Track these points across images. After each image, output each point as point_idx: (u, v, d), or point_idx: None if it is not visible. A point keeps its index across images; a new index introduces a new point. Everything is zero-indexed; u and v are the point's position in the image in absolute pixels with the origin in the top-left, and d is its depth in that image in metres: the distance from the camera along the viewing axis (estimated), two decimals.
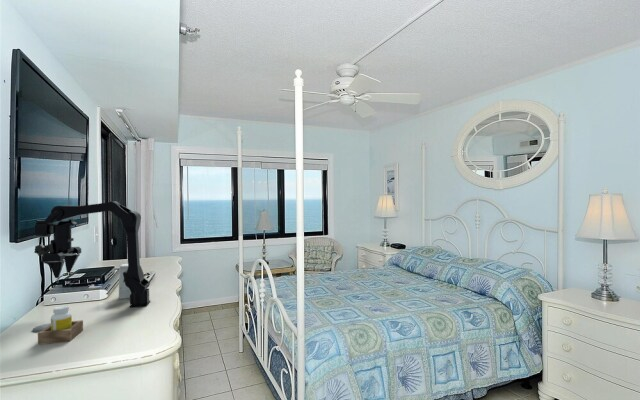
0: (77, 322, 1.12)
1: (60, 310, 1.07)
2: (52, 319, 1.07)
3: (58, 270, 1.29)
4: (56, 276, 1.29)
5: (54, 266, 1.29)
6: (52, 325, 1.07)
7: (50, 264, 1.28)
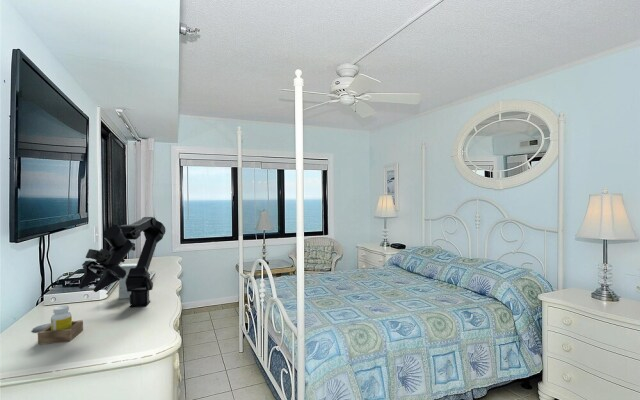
0: (77, 322, 1.12)
1: (60, 310, 1.07)
2: (52, 319, 1.07)
3: (105, 285, 1.16)
4: (96, 289, 1.14)
5: (105, 279, 1.16)
6: (52, 325, 1.07)
7: (106, 275, 1.16)
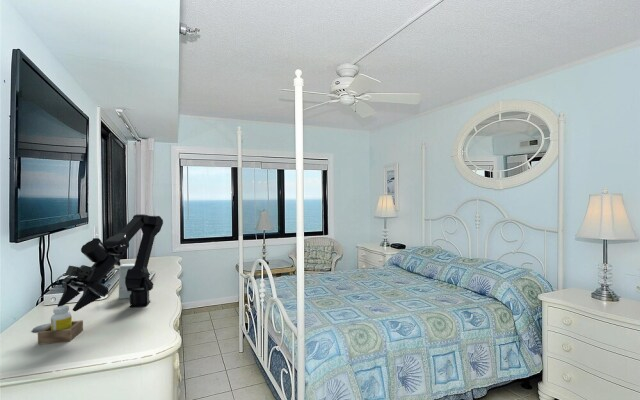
0: (77, 322, 1.12)
1: (60, 310, 1.07)
2: (52, 319, 1.07)
3: (85, 304, 1.10)
4: (75, 309, 1.08)
5: (86, 298, 1.10)
6: (52, 325, 1.07)
7: (87, 293, 1.10)
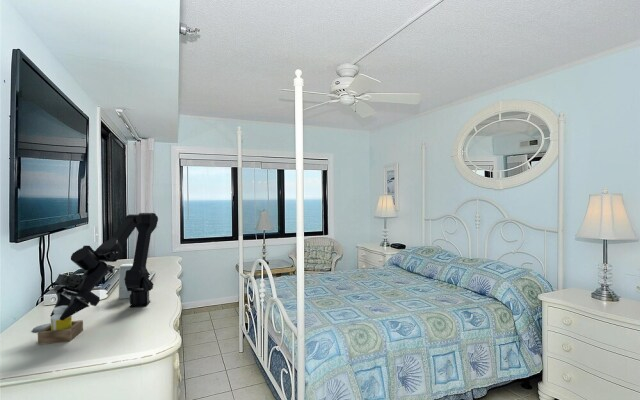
0: (77, 322, 1.12)
1: (60, 310, 1.07)
2: (52, 319, 1.07)
3: (72, 312, 1.09)
4: (63, 318, 1.07)
5: (73, 306, 1.09)
6: (52, 325, 1.07)
7: (74, 302, 1.08)
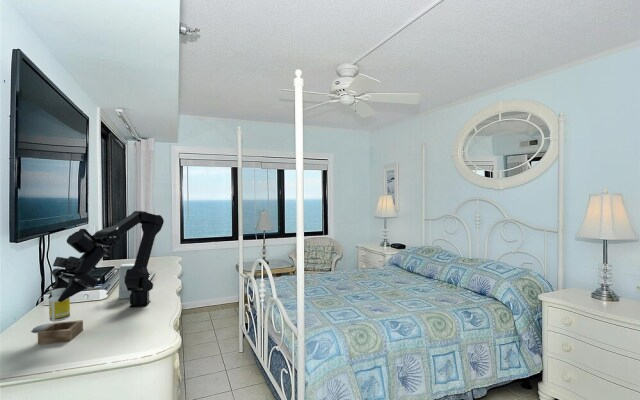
0: (77, 322, 1.12)
1: (58, 292, 1.09)
2: (50, 301, 1.08)
3: (70, 294, 1.10)
4: (61, 299, 1.08)
5: (71, 288, 1.10)
6: (50, 307, 1.08)
7: (72, 284, 1.10)
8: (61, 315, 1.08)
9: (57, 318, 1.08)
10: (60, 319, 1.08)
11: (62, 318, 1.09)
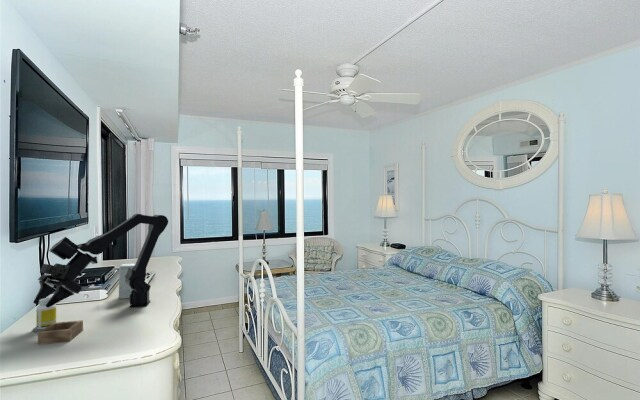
0: (77, 322, 1.12)
1: (45, 301, 1.15)
2: (37, 309, 1.14)
3: (58, 300, 1.16)
4: (48, 305, 1.14)
5: (59, 294, 1.16)
6: (37, 315, 1.14)
7: (60, 290, 1.15)
8: (47, 323, 1.15)
9: (44, 326, 1.14)
10: None
11: None
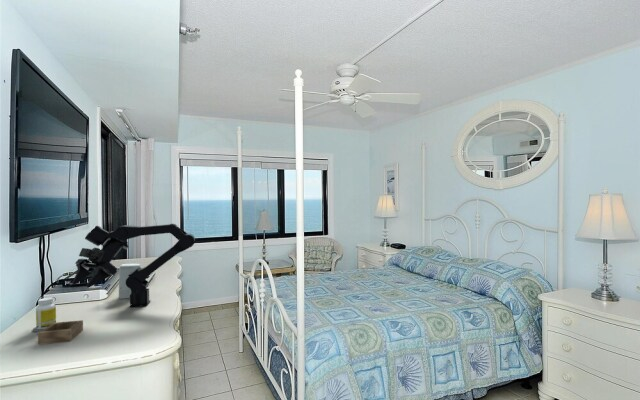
0: (77, 322, 1.12)
1: (44, 301, 1.15)
2: (37, 310, 1.14)
3: (97, 281, 1.26)
4: (89, 285, 1.25)
5: (98, 276, 1.27)
6: (37, 315, 1.14)
7: (99, 272, 1.26)
8: (47, 323, 1.15)
9: (44, 326, 1.14)
10: None
11: None
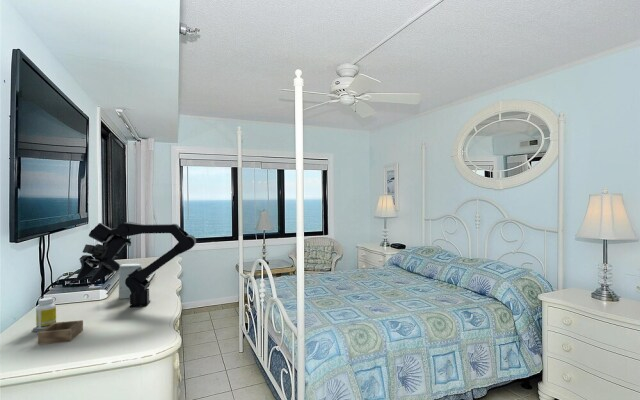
0: (77, 322, 1.12)
1: (45, 301, 1.15)
2: (37, 310, 1.14)
3: (100, 277, 1.28)
4: (92, 281, 1.26)
5: (101, 272, 1.28)
6: (37, 315, 1.14)
7: (102, 268, 1.27)
8: (47, 323, 1.15)
9: (44, 326, 1.14)
10: None
11: None
